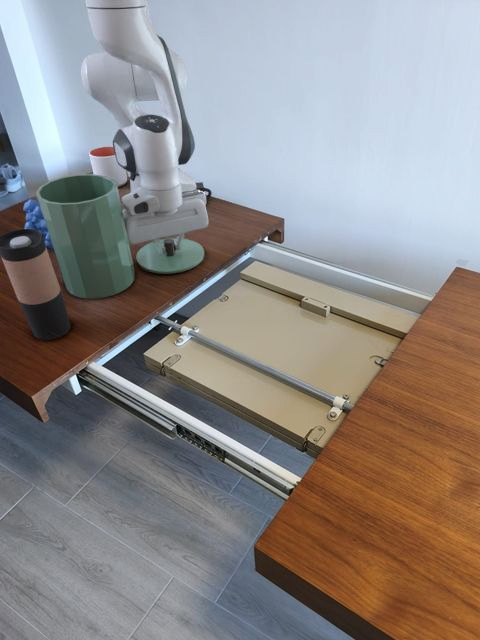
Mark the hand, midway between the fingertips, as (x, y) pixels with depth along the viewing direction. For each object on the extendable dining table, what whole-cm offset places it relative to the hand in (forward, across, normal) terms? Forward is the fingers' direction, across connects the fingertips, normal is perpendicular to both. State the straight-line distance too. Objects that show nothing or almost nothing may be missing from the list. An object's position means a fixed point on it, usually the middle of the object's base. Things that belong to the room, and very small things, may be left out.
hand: (170, 251), depth 115 cm
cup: (+2, +1, -54) cm, 54 cm away
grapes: (+2, +27, -20) cm, 34 cm away
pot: (+2, +18, +2) cm, 18 cm away
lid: (+1, 0, 0) cm, 1 cm away
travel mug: (+2, +31, +16) cm, 35 cm away
